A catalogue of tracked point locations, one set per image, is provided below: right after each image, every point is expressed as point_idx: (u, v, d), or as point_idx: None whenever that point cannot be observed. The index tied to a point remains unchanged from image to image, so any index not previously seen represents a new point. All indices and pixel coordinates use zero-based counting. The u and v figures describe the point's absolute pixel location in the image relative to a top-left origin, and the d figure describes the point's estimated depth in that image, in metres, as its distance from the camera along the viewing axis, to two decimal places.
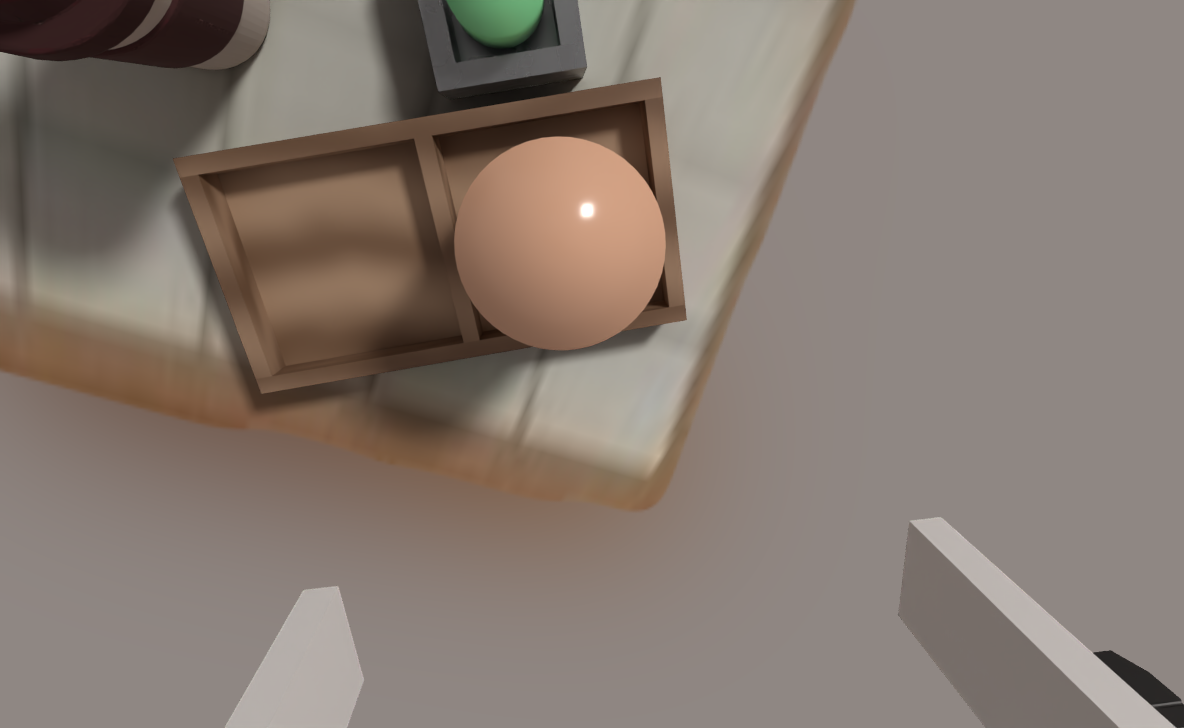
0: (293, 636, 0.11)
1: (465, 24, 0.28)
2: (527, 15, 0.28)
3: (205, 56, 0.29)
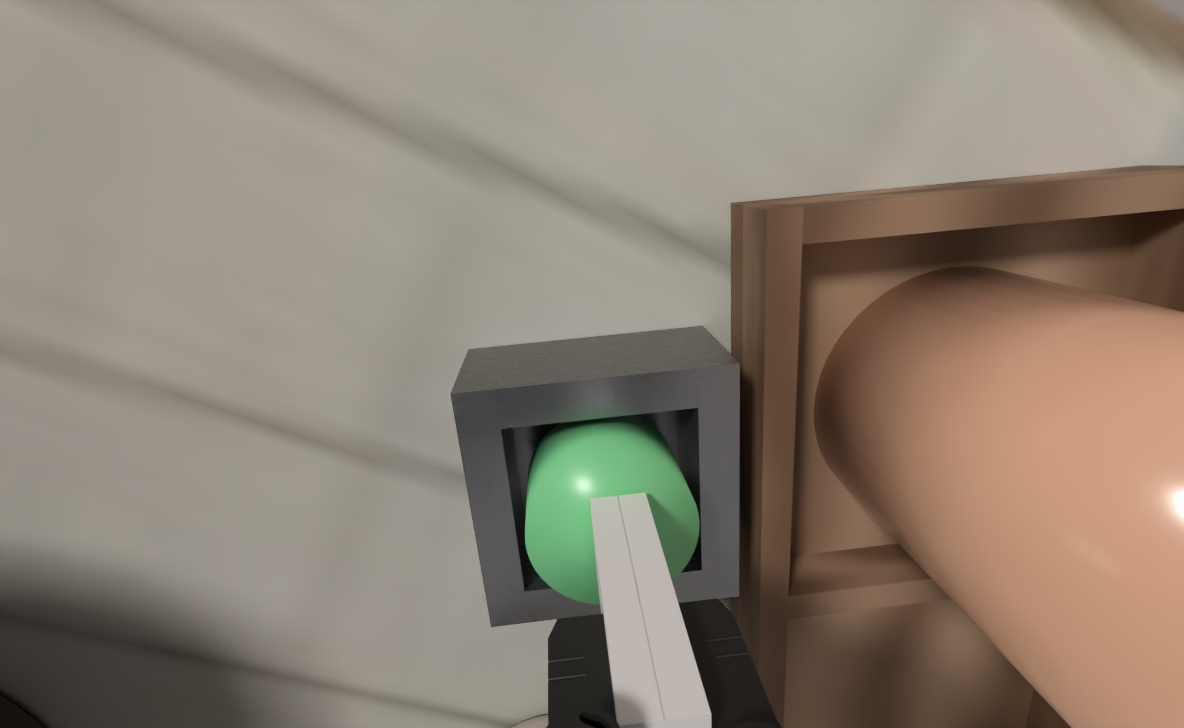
0: (607, 528, 0.14)
1: (673, 576, 0.17)
2: (671, 484, 0.15)
3: None
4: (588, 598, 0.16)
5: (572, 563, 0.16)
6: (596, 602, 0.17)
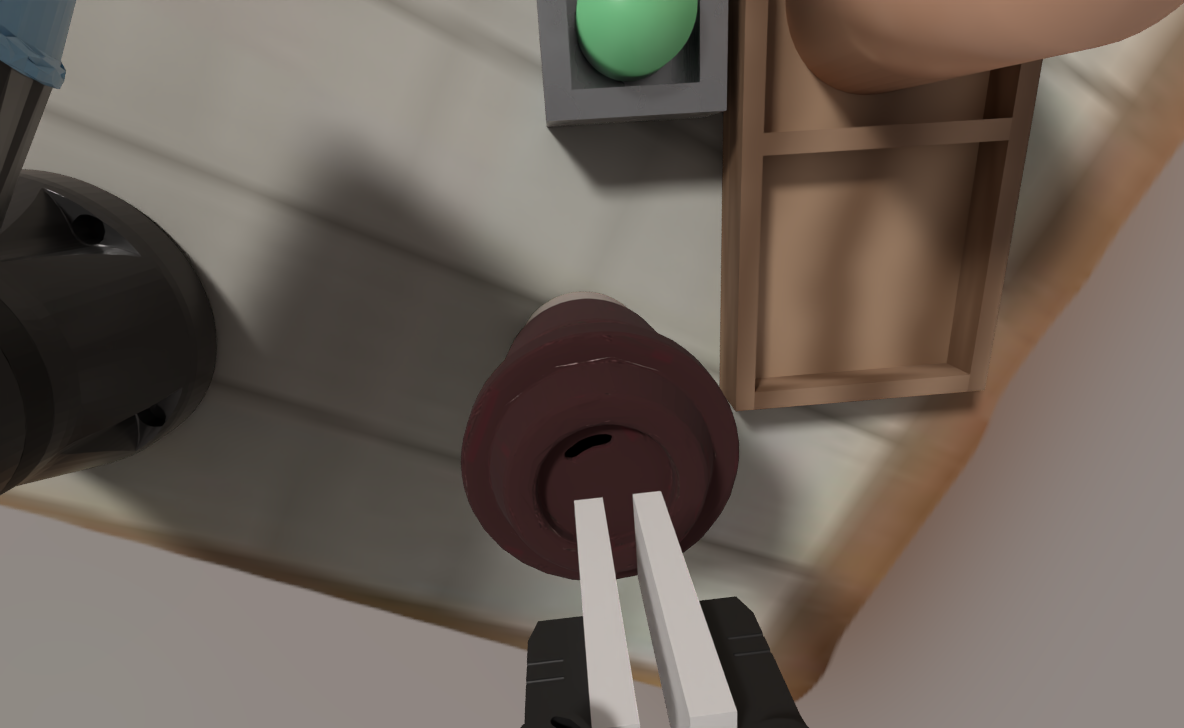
0: (590, 530, 0.14)
1: (678, 50, 0.24)
2: None
3: None
4: (619, 63, 0.24)
5: (609, 29, 0.23)
6: (624, 70, 0.24)
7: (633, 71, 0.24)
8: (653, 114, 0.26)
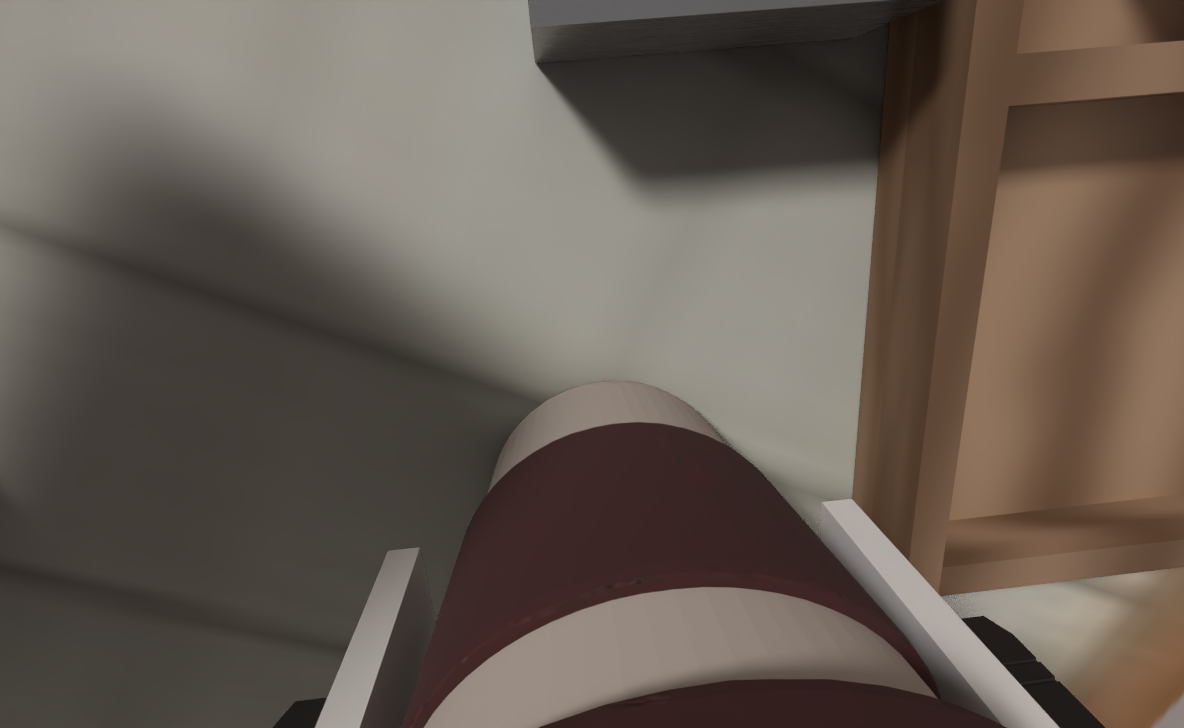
0: (386, 589, 0.12)
1: None
2: None
3: None
4: None
5: None
6: None
7: None
8: (783, 8, 0.11)
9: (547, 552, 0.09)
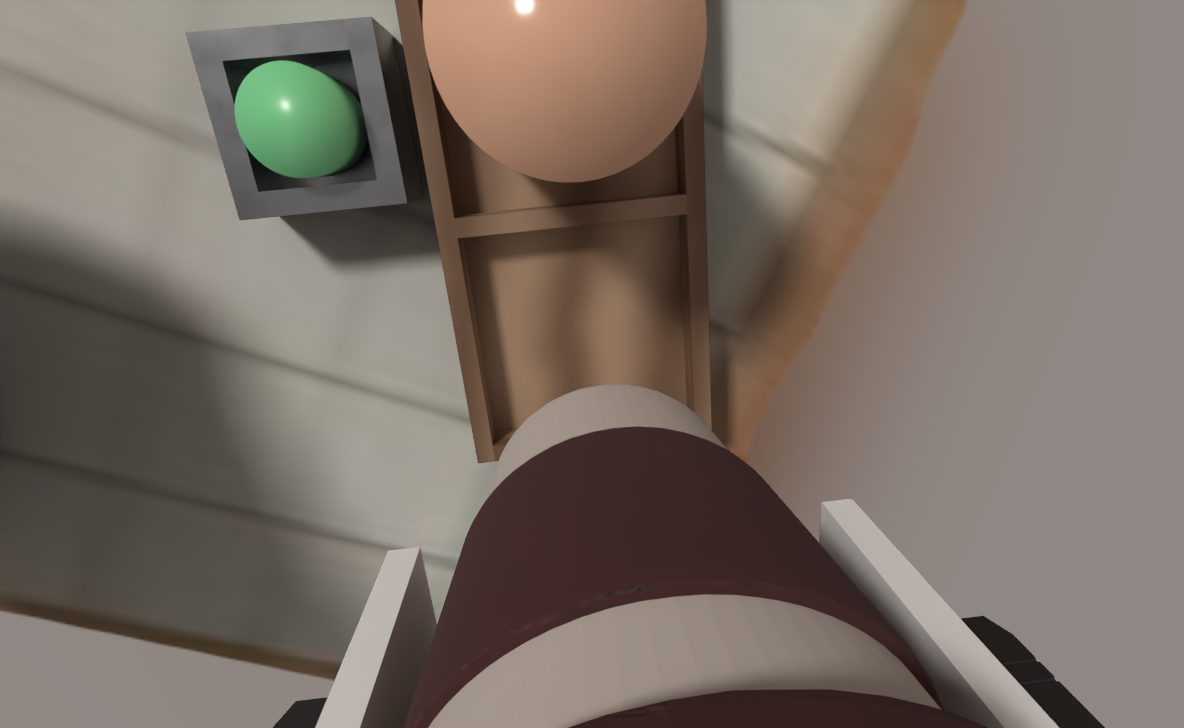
0: (387, 588, 0.12)
1: (339, 157, 0.26)
2: (323, 84, 0.25)
3: None
4: (285, 172, 0.26)
5: (270, 143, 0.26)
6: None
7: (301, 177, 0.27)
8: (340, 209, 0.28)
9: (547, 558, 0.09)
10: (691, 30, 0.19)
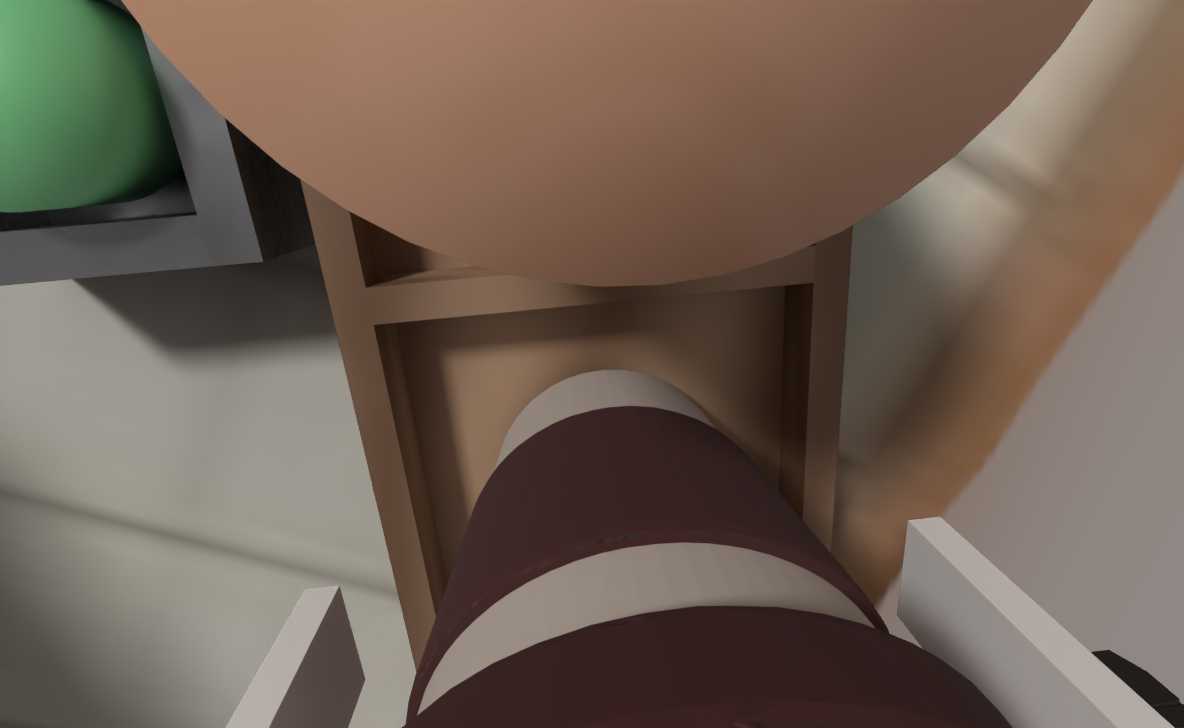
0: (293, 636, 0.11)
1: (91, 169, 0.12)
2: (32, 1, 0.11)
3: None
4: None
5: None
6: None
7: (12, 211, 0.12)
8: (127, 272, 0.14)
9: (547, 515, 0.10)
10: None
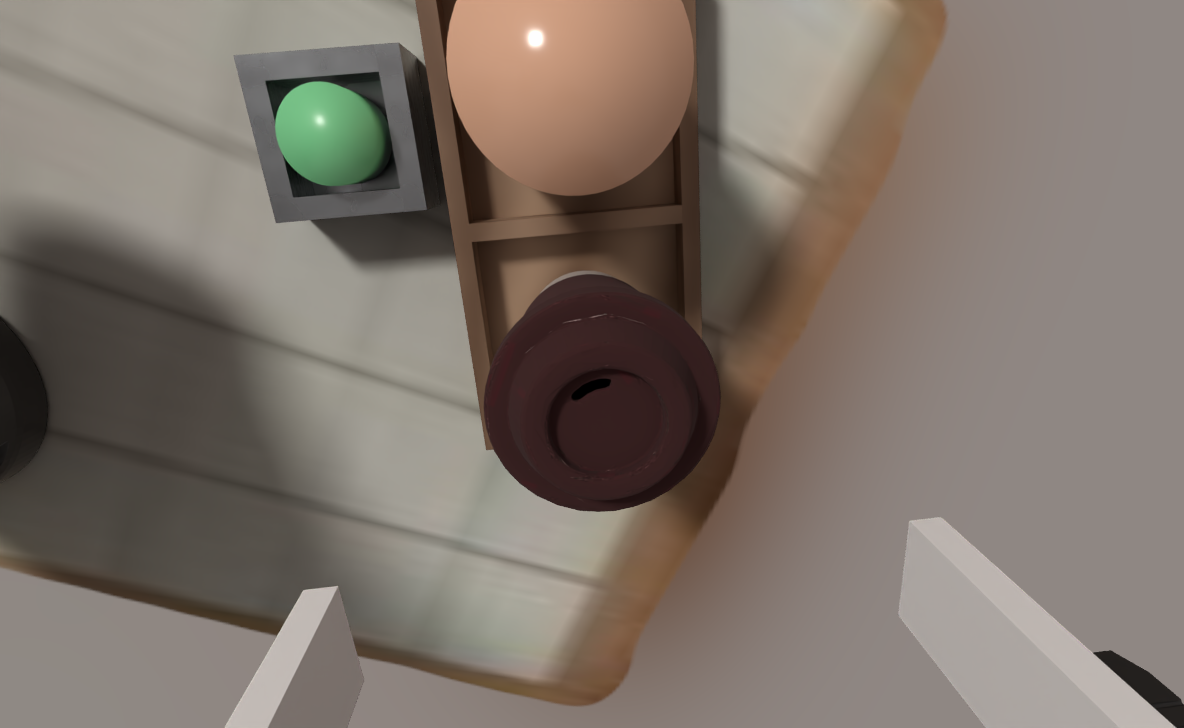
0: (292, 636, 0.11)
1: (367, 168, 0.29)
2: (354, 102, 0.28)
3: None
4: (318, 180, 0.29)
5: (306, 154, 0.29)
6: None
7: (332, 185, 0.29)
8: None
9: (555, 293, 0.27)
10: (680, 65, 0.21)
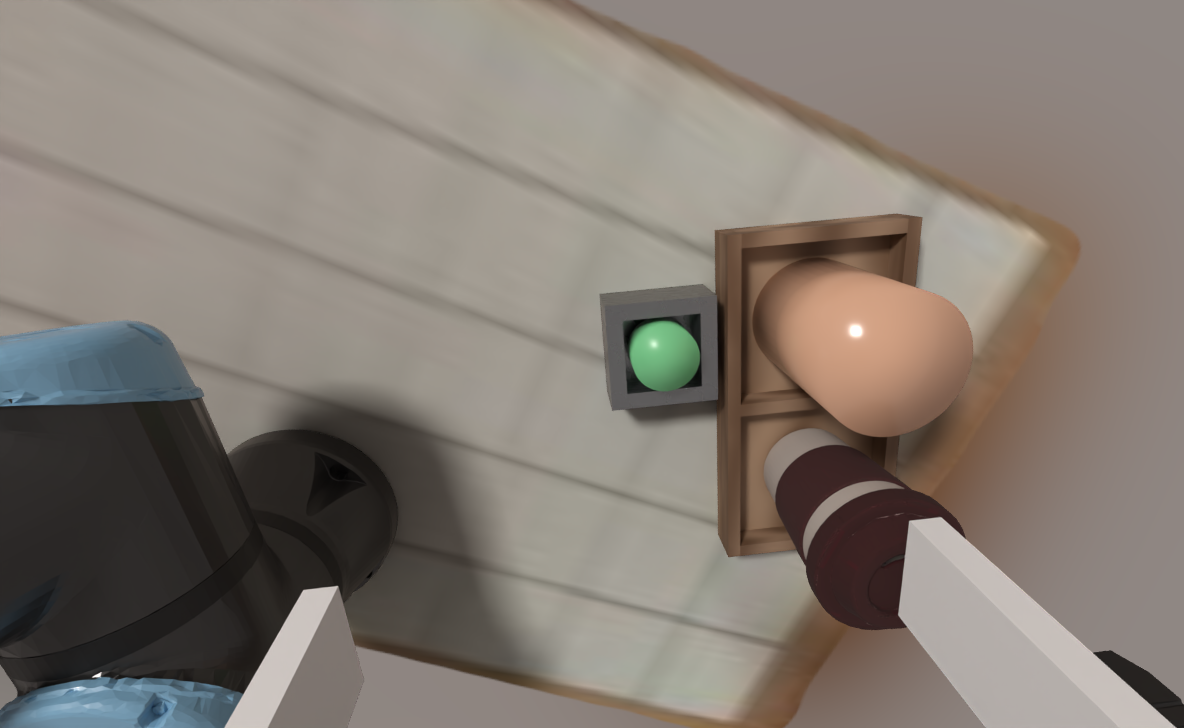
0: (292, 636, 0.11)
1: (689, 379, 0.42)
2: (689, 339, 0.41)
3: None
4: (655, 388, 0.42)
5: (650, 372, 0.41)
6: (658, 390, 0.42)
7: (663, 390, 0.42)
8: (674, 403, 0.44)
9: (835, 476, 0.40)
10: (963, 363, 0.34)
